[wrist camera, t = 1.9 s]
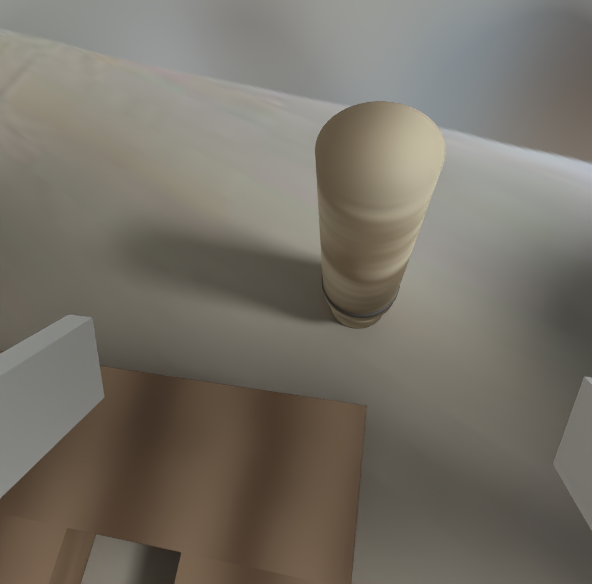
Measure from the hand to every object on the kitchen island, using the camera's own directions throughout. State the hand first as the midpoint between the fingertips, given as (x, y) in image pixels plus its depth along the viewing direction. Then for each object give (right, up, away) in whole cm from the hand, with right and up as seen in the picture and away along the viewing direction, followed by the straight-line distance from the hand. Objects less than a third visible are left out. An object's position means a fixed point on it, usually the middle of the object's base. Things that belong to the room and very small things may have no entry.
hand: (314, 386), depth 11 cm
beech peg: (+4, +2, +15) cm, 16 cm away
